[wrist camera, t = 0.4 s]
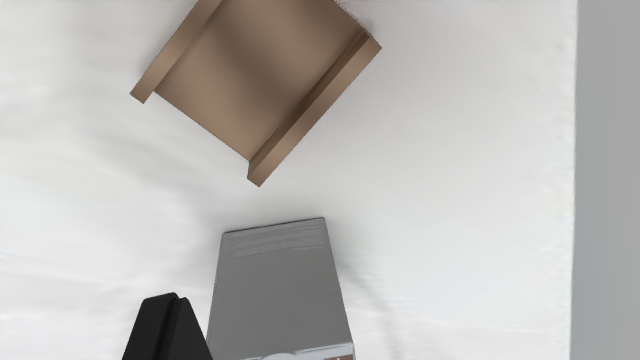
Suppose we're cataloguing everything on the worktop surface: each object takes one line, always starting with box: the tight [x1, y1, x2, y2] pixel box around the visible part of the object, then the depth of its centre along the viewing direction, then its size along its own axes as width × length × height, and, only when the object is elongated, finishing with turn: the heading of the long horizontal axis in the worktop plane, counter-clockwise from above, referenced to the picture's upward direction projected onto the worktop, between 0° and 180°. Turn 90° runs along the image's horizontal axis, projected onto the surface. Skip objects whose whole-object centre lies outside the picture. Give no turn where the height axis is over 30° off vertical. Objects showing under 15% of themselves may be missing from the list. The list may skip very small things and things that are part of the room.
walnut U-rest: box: [130, 0, 382, 187], centre depth 36 cm, size 12×10×4 cm
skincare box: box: [206, 218, 356, 360], centre depth 37 cm, size 8×7×16 cm
